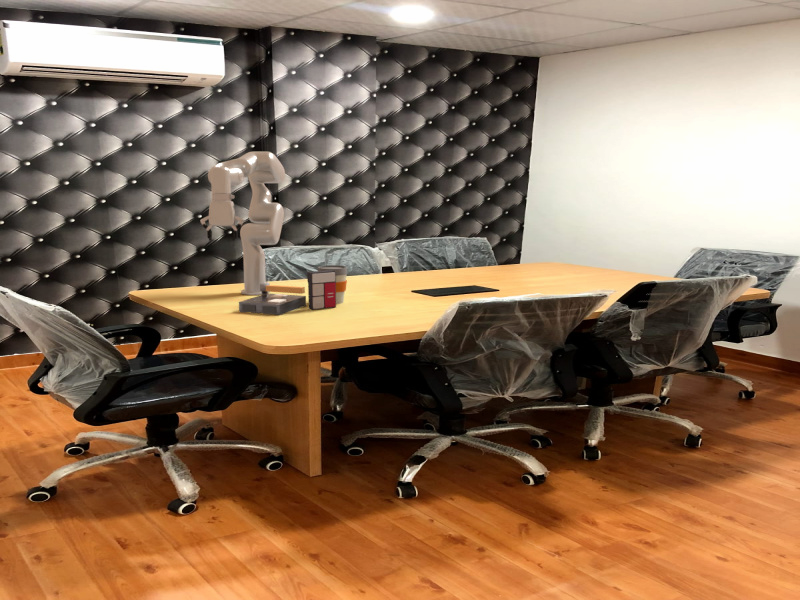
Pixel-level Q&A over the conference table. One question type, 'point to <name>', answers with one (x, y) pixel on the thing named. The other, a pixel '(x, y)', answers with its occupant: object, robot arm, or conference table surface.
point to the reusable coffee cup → (338, 280)
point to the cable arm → (282, 288)
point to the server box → (272, 304)
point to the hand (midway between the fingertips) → (222, 240)
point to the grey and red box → (321, 289)
